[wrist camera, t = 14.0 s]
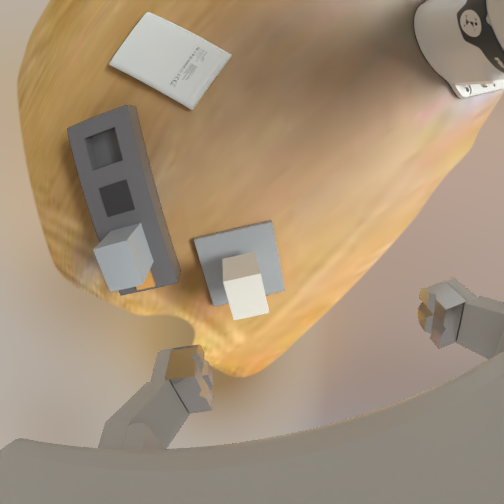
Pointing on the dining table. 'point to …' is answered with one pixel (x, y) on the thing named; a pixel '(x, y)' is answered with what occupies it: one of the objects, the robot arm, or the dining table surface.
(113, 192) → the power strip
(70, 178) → the dining table surface
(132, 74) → the external hard drive
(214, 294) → the rubber mat
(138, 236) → the block
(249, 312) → the block
